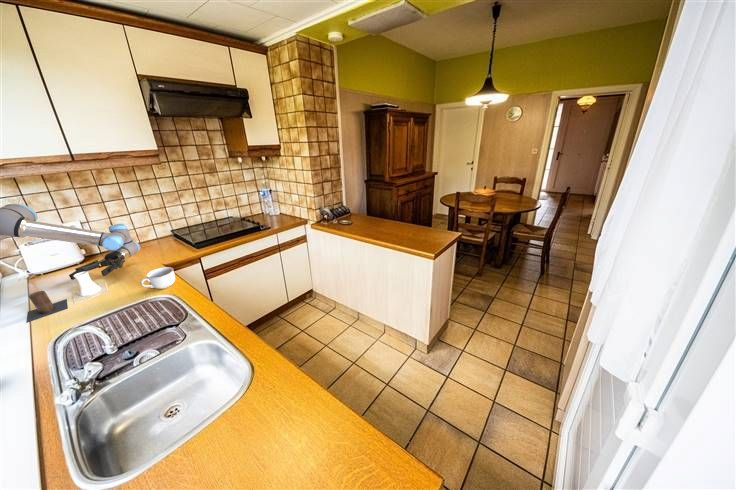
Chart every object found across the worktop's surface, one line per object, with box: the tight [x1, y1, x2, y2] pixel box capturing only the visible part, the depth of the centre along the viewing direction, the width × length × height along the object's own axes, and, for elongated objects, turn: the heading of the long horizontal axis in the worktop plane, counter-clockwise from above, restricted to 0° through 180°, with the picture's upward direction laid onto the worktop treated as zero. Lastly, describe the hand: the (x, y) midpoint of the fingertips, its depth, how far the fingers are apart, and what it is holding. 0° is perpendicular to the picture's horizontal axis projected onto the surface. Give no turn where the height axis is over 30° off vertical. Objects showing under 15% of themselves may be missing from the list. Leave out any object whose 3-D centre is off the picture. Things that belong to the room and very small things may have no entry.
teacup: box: [140, 266, 177, 290], centre depth 129 cm, size 14×11×8 cm
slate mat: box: [25, 298, 69, 324], centre depth 116 cm, size 12×12×1 cm
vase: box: [74, 271, 101, 296], centre depth 127 cm, size 8×8×10 cm
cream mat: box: [71, 281, 110, 305], centre depth 129 cm, size 16×12×1 cm
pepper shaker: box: [27, 290, 55, 314], centre depth 114 cm, size 5×5×9 cm
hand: (87, 275), depth 128 cm, fingers open, 13 cm apart
